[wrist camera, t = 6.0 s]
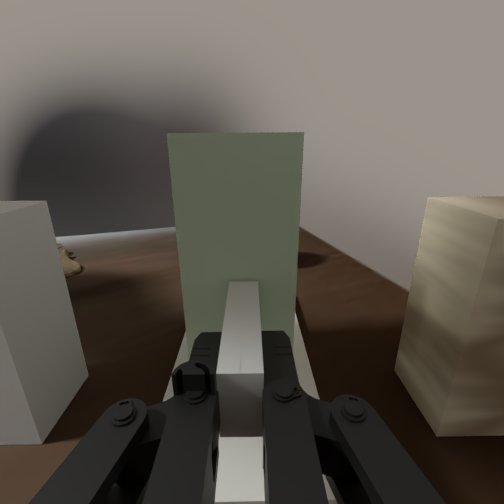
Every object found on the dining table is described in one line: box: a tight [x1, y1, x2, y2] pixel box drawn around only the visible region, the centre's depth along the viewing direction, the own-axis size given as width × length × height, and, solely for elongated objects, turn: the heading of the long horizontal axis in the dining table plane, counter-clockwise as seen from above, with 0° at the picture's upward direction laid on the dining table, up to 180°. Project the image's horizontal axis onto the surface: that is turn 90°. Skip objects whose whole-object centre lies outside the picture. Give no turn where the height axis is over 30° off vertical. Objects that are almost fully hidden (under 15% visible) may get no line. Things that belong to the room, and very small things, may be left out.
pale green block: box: [167, 132, 304, 358], centre depth 18 cm, size 6×6×14 cm
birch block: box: [394, 197, 504, 437], centre depth 16 cm, size 5×5×12 cm
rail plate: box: [163, 313, 338, 504], centre depth 22 cm, size 19×9×1 cm, turn 1°
